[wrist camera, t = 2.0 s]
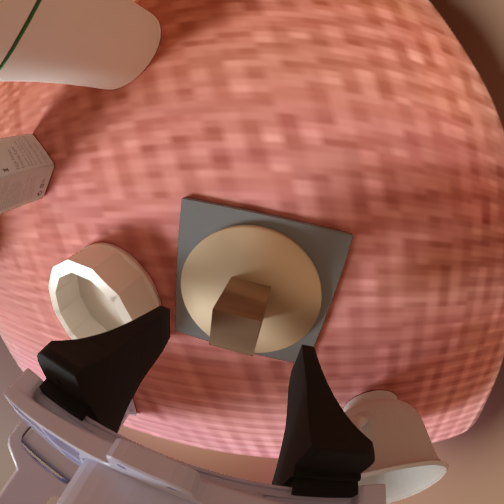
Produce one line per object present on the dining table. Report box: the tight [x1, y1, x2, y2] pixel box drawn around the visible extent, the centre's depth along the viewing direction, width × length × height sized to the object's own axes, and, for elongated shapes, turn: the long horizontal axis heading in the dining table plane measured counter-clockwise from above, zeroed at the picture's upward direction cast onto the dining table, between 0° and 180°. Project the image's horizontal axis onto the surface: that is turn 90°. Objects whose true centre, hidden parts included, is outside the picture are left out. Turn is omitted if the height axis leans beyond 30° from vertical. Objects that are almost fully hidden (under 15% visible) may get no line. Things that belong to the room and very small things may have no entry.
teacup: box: [343, 390, 449, 504], centre depth 17 cm, size 12×15×10 cm
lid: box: [181, 225, 322, 356], centre depth 16 cm, size 10×10×5 cm
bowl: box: [48, 242, 162, 339], centre depth 20 cm, size 10×10×4 cm
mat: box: [175, 197, 353, 363], centre depth 19 cm, size 11×11×1 cm
